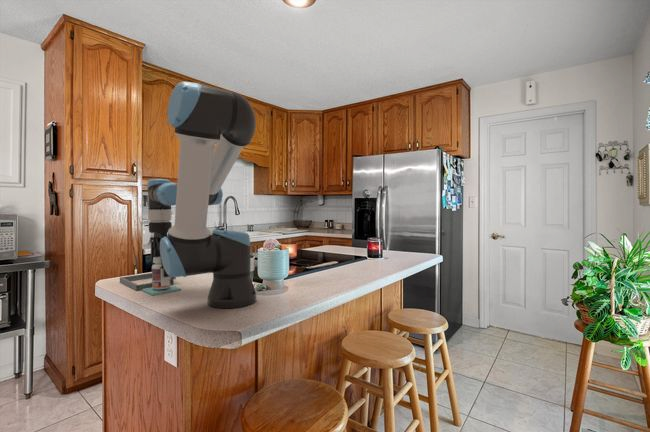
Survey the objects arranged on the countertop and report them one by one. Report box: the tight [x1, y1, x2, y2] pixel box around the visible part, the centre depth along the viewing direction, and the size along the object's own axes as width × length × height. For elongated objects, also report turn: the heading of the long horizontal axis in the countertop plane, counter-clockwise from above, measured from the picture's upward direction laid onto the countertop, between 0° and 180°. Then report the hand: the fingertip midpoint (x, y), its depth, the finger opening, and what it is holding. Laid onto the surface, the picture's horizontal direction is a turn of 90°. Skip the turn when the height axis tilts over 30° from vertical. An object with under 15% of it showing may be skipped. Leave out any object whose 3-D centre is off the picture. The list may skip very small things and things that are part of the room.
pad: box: [141, 284, 182, 296], centre depth 123 cm, size 10×10×1 cm
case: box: [119, 272, 177, 292], centre depth 134 cm, size 20×14×14 cm
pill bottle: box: [151, 257, 171, 290], centre depth 123 cm, size 6×6×11 cm
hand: (161, 284), depth 123 cm, fingers closed on pill bottle, 6 cm apart
